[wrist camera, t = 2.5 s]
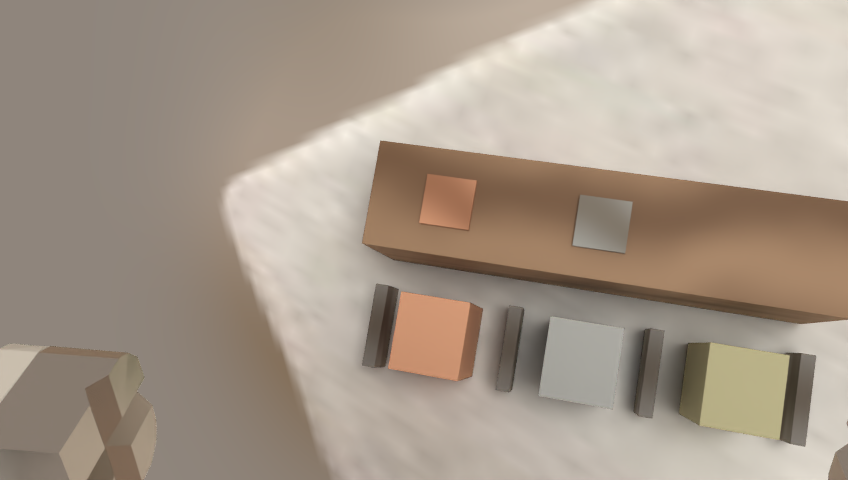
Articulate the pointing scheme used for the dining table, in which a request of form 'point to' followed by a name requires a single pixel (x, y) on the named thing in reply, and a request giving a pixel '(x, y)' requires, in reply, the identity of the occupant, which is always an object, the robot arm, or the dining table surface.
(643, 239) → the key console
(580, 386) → the slate key
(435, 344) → the terracotta key
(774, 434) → the olive key
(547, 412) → the dining table surface
